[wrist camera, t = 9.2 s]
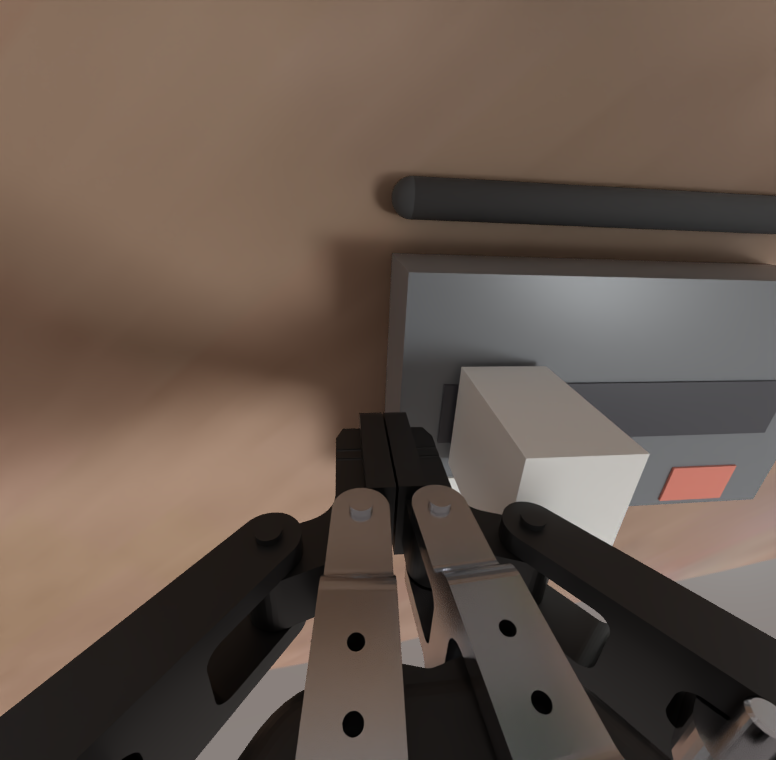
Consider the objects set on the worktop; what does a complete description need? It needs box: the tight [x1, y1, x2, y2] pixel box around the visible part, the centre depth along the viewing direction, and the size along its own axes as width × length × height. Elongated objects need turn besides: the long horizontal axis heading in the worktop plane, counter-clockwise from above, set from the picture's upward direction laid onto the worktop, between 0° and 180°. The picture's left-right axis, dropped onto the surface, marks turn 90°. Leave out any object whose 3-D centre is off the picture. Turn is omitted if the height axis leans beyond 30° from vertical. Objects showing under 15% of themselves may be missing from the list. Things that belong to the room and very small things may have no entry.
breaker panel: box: [385, 253, 776, 506], centre depth 17 cm, size 17×10×4 cm, turn 87°
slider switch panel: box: [392, 176, 776, 234], centre depth 18 cm, size 17×15×1 cm
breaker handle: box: [448, 366, 650, 546], centre depth 12 cm, size 3×4×5 cm
